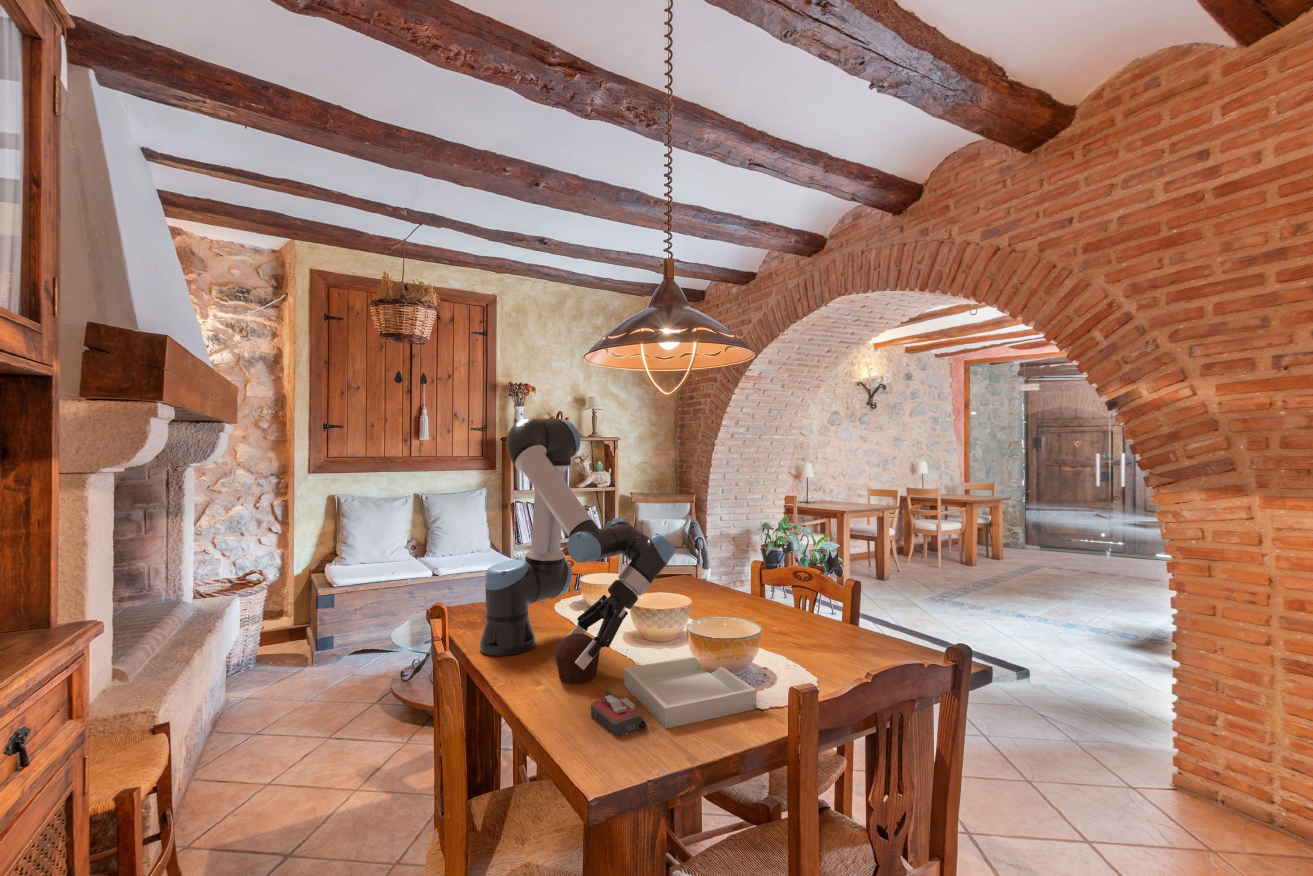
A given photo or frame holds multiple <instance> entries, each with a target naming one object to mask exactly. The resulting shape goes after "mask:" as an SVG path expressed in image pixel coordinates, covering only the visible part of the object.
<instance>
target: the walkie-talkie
mask: <svg viewBox="0 0 1313 876" xmlns="http://www.w3.org/2000/svg"><path fill="white" fill-rule="evenodd" d="M604 694H605V695H606V696H605V695H604V696H602V697H601V699H600V700H599V701H594V702H593V703H591V704H590V717H591V716H592V717H591V718H592V719H593V720H594V719H595V720H596V721H595V720H594V721H595V722H596V723H598V725H600V724H601V725H602V726H603V727H604V730H606V731H607V730H608V731H607V733H609V732H610V733H609V734H611V733H612V734H613V735H612V734H611V735H612V736H613V737H616V736H618V737H621V736H620V735H622V736H624V735H623V734H625V735H627V734H626V733H628V734H632V733H634V731H635V732H638V731H641V730H642V729H646V728H647V727H648V726H647V722H646V721H645V720H643V715H642V714H640V713H638V711H636V704H635V703H633V702H632V701H631V700H630V699H629V698H628V697H624V698H620V696H617V695H616V694H615V693H613V692H612V691H611V690H609V689H605V690H604ZM601 725H600V726H601ZM631 732H632V733H631Z"/></svg>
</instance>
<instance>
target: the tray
mask: <svg viewBox="0 0 1313 876" xmlns="http://www.w3.org/2000/svg"><path fill="white" fill-rule="evenodd" d="M695 656H696V655H695ZM695 656H694V655H692V656H687V657H682V658H676V659H669V660H662V661H658V662H653V663H647V664H642V665H641V664H640V665H635V666H629V667H624V668H623V670H624V671H623V675H624V676H623V677H624V678H623V679H624V683H623V684H624V687H625V688H626V689H627V690H628V691H629V692H630V693H631V694H632V695H633V696H634V697H635V698H636V699H637V700H638V701H639V703H640V704H641V705H643V707H644V708H645V709H646V710H647V711H648V712H649V714H650V715H652V716H653V717H654V718H655V719H656V720H657V721H658V722H659V724H660V725H662V727H663V728H664V729H671V728H676V727H680V726H685V725H690V724H694V723H699V722H703V721H707V720H708V721H709V720H712V719H717V718H721V717H725V716H731V715H734V714H739V713H743V712H749V711H752V710H753V711H754V710H757V708H758V706H757V705H758V704H757V703H758V702H757V701H758V700H757V689H756V688H754V687H753V686H752V685H750V684H749V683H747V682H745V681H744V680H743V679H742V678H740V677H738V676H737V675H736V674H734V673H732V672H730V671H729V670H728V669H726V668H725V667H723V666H722V667H723V668H722V667H720V668H719V667H718V669H717V670H716V671H714V672H712V673H709V672H706V671H704V670H703V669H702V667H701V664H700V663H699V662H698V660H697V659H696V658H695Z"/></svg>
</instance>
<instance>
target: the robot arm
mask: <svg viewBox="0 0 1313 876" xmlns="http://www.w3.org/2000/svg"><path fill="white" fill-rule="evenodd" d="M580 436H581V435H580V432H579V430H578V429H577V428H576V427H575V424H573V422H571V421H569V420H566V419H561V418H536V417H535V418H534V417H528V418H523V419H520V420H518V421H517V422H516V423H515V424H513V425H512V426H511V428H510V429H509V431H508V434H507V436H506V441H505V442H506V443H505V444H506V451H507V455H508V457H509V459H510V461H511V462H512V464H513V465H514V467H515V468H516V470H517V471H521V472H523V473H524V475H525V476H526V477H527V479H528V480H529V482H530V484H531V485H532V486H533V487H534V496H533V497H534V499H533V515H532V530H531V531H532V533H531V548H529V550H528V551H527V552H526V553H525V560H523V559H522V560H521V559H511V560H507V561H506V560H505V561H501V562H497V563H495V564H493V565H491V566H490V567H489V568H487V569H486V572H485V581H484V588H485V624H484V626H483V630H482V634H481V636H480V640H479V651H480V652H481V653H482V654H484V655H488V656H493V657H494V656H496V657H501V656H502V657H503V656H504V657H505V656H514V655H520V654H523V653H526V652H528V651H530V650H532V649H533V648H535V646H536V636H535V631H534V629H533V626H532V624H531V621H530V619H529V605H531V604H535V603H538V602H543V601H546V600H552V599H554V598H557V597H558V596H561V595H563V594H564V593H566V591H567V590H568V589H569V588H570V585H571V582H572V577H573V573H572V567H570V562H569V561H568V560H567V559H566V554H565V553H564V552H563V551H562V550H561V542H562V530H563V531H564V533H565V534H566V535H567V537H568V540H567V545H566V546H567V547H566V549H567V550H568V555H569V557H570V558H571V560H573V562H576V563H578V564H580V563H581V564H582V563H594V562H596V561H598V560H602V559H606V558H611V557H616V556H619V555H623V556H624V557H625V558H627V559H628V560H630V561H629V563H628V564H627V565H626V566H625V567H624V568H623V569H622V571H621V573H619V575H618V576H617V577H618V579H615V580H614V581H613V582H612V583H611V584H610V586H609V587H608V589H607V592H608V593H609V594H610V595H609V597H608V596H607V595H605V594H603V595H602V596H601V597H600V598H599V599H598V600H597V601H596V602H595V603H593V604H592V605H591V606H590V607H589V608H588V609H586V610H585V611H583V613H582V614H580V615H579V616H578V617H577V621H578V622H577V624H576V625H575V627H574V628H573V629H572V630H571V632H570V633H569V634H568V635H567V636H569V635H571V634H578V633H580V634H586V632H588V629H589V627H591V626H593V625H594V624H596V623H597V622H599V621H600V620H602V623H601V625H600V627H599V630H598V633H597V635H596V636H595V637H592V638H593V639H594V640H595V641H594V640H592V642H591V643H590V644H589V645H588V646H587V648H586V649H585V650H584V651H583V653H582V654H581V655H580V656H579V658H578V659H577V660H576V661H575V663H576V664H577V665H578V666H579V667H581V668H582V669H583V670H584V669H585V668H586V667H587V665H588V664H589V663H590V662H591V661H592V659H593V658H594V657H595V656H596V654H597V653H598V652H599V651H601V649H602V648H605V647H606V648H610V646H611V644H612V642H613V641H614V638H615V636H617V633H618V631H619V629H620V627H621V624H622V623H623V621H624V620H625V618H626V617H627V615H628V613H629V612H628V611H627V610H631V609H632V608H633V607H634V605H635V604H636V603H637V602H638V600H639V597H641V596H642V595H643V594H644V592H645V591H647V590H649V587H650V585H651V584H653V581H654V580H655V579H656V577H658V576H659V574H660V573H661V572H662V571H663V570H664V568H665V567H666V566H668V564H669V562H670V560H671V559H672V557H673V556H674V555H675V553H676V549H675V547H674V545H673V544H672V542H671V541H669V540H668V539H667V538H666V537H664V536H663V535H662V534H659V533H656V532H655V533H653V534H652V535H651V536H650V537H649V536H648V535H646V534H644V533H643V532H642V531H640V530H639V529H638V528H636V527H635V526H634V525H632V524H631V523H630V522H629V521H626V520H624V519H622V518H620V517H614V518H612V519H611V520H609V521H607V523H606V524H605V525H604V527H602V528H599V526H598V525H597V524H596V522H595V521H594V519H593V517H591V515H590V513H588V511H587V510H586V508H585V507H584V506H583V504H582V503H581V502H580V500H579V499H578V498H577V497H578V496H576V495H575V493H574V492H573V490H572V489H571V488H570V486H569V485H568V483H567V482H566V481H565V480H566V471H567V470H568V469H569V468H570V467H571V464H572V458H574V457H575V456H576V455H577V454H578V453H579V451H580V450H581V449H580V448H581V437H580ZM625 608H626V609H627V610H626V609H625ZM599 653H600V652H599Z"/></svg>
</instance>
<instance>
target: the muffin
mask: <svg viewBox="0 0 1313 876" xmlns="http://www.w3.org/2000/svg"><path fill="white" fill-rule="evenodd" d="M568 635H569V634H568ZM568 635H567V636H565V637H563V638H562V639H561V640H560V641H559V643H558V644H557V646H556V647H555V648H554V650H553V655H554V657H555V659H556V666H557V671H558V677H559V679H560V681H561V683H564V682H565V683H566V684H568V685H581V684H585V683H588V682H589V683H590V682H592V681H593V680H594V679H595V678H596V677H597V674H598V673H597V672H598V666H599V658H600V651H601V650H600V651H599V652H598V653H597V654H596V656H595V657H594V658H593V659H592V661H591V662H590V663H589V664H588V665H587V667H586V668H585V669H584V670H583V669H582V668H581V667H579V666H578V665H577V664H576V663H575V661H576V660H577V659H578V658H579V656H580V655H581V654H582V653H583V651H584V650H585V649H586V648H587V646H588V645H589V644H590V643H591V642H592V640H594V639H595V638H594V637H592V636H591V635H588V634H586V633H584V634H580V633H578V634H571V635H569V636H568ZM593 638H594V639H593ZM594 641H595V640H594Z"/></svg>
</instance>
